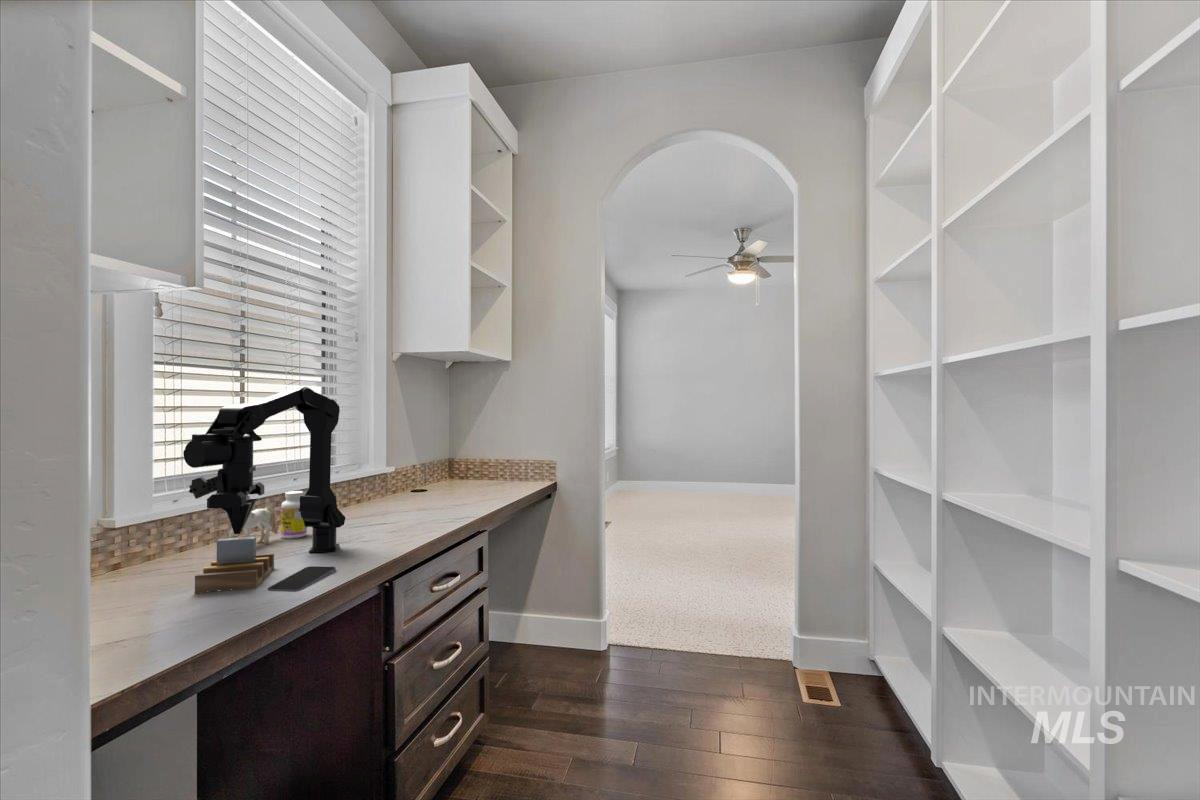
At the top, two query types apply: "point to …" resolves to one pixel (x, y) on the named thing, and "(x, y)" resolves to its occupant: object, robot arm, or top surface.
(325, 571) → the smartphone
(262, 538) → the unicorn figurine
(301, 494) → the supplement bottle
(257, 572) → the rack
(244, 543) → the block
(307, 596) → the top surface
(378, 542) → the top surface
